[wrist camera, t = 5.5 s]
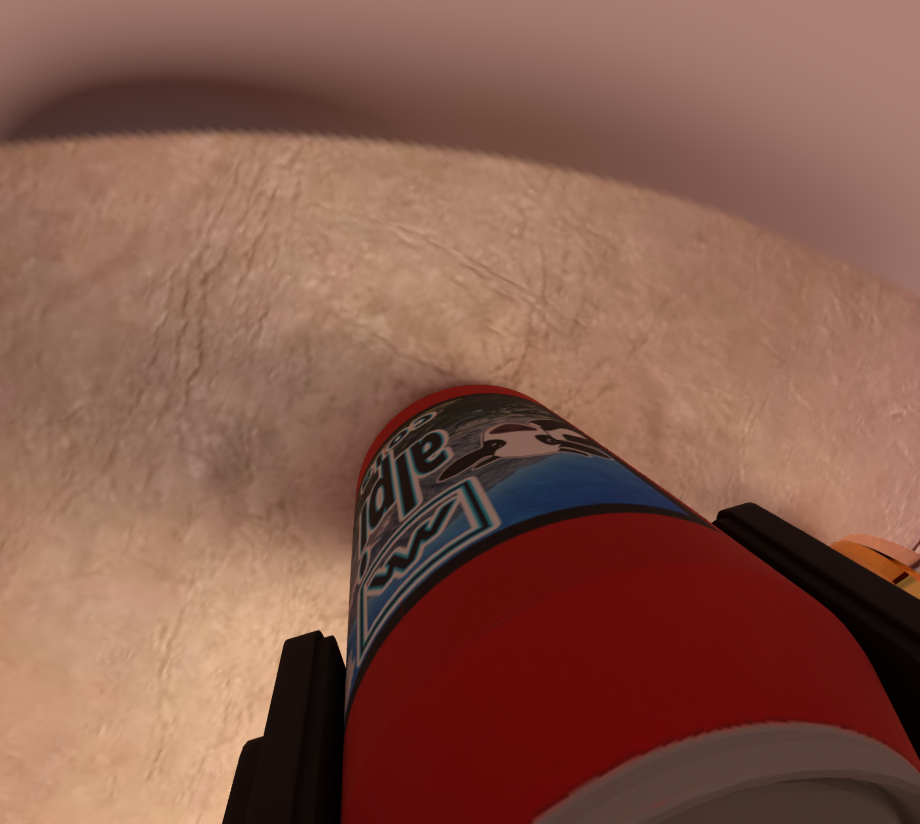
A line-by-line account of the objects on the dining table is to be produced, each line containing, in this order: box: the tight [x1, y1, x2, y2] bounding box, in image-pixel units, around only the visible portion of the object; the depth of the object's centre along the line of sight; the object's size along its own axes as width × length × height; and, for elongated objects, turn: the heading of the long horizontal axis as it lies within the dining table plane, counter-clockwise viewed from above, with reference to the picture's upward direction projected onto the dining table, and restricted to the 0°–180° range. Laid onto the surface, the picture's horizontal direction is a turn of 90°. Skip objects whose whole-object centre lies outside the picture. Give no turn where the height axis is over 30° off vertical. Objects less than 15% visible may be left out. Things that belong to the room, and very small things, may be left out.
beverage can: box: [340, 385, 920, 824], centre depth 10 cm, size 7×7×12 cm
